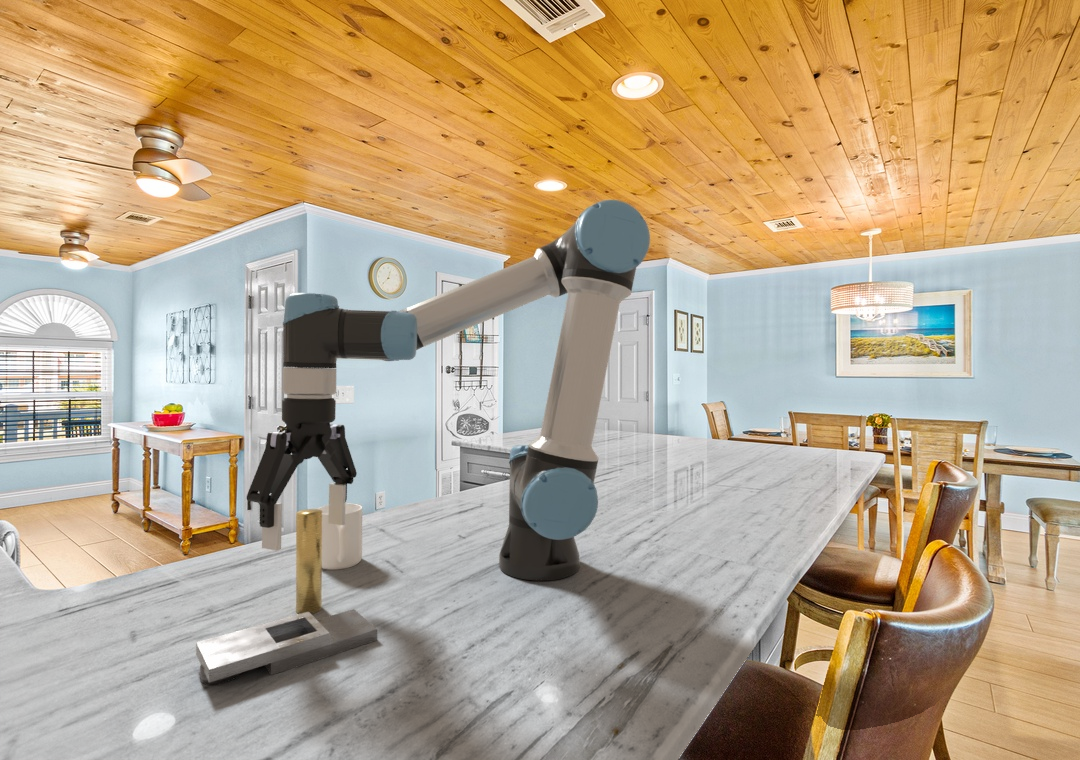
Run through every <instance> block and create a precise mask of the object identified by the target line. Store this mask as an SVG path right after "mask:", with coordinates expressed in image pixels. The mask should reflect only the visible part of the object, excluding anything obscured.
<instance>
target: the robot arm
mask: <svg viewBox="0 0 1080 760" xmlns="http://www.w3.org/2000/svg"><path fill="white" fill-rule="evenodd" d="M650 234H651V233H650V228H649V226H648V223H647V222H646V219H645V218H644V217H643V216H642V214H641V213H640V211H639V210H638V209H636V208H635V207H634V206H633V205H631V204H629V203H628V202H625V201H621V200H618V199H604V200H601V201H598V202H596V203H594V204H592V205H590V206H588V207H587V208H586V209H585V210H583V211H582V212H581V213H580V215H579V216H578V218H577V220H575V222H574V223H573V224H572V225H571V227H569V228H568V229H567V231H565V232H564V233H563V234H561V235H560V236H559V237H557V238H556V239H554V240H553V241H551V242H550V243H547V244H545V245H544V246H543V245H542V246H540V247H538V248H536V250H535V252H534V255H533V256H531V257H528V258H527V259H526V258H525V259H523V260H521V261H520V262H517V263H514V264H512V265H509V266H506V267H505V268H501V269H499V270H497V271H494V272H492V273H489V274H486V275H484V276H481V277H480V278H478V279H475V280H472V281H470V282H467V283H465V284H463V285H460V286H457V287H455V288H453V289H450V290H448V291H445V292H443V293H440V294H438V295H435V296H433V297H431V298H428V299H425V300H423V301H421V302H418V303H416V304H414V305H411V306H407V307H406V308H404V309H401V310H398V311H397V310H390V311H389V310H388V311H387V310H362V309H361V310H360V309H359V310H357V309H356V310H355V309H344V308H340V306H339V302H338V298H337V297H335V296H333V295H331V294H326V293H324V294H323V293H314V292H294V293H291V294H289V295H288V296H287V297H286V299H285V300H284V303H285V304H284V312H283V313H284V317H283V322H282V328H283V334H282V335H283V341H282V342H283V343H282V345H283V346H282V347H283V358H282V359H283V362H282V363H283V364H282V366H283V367H282V393H283V395H286V397H284V398H283V399H281V421H282V422H283V423H285V425H286V428H285V429H284V430H285V431H284V432H280V431H279V432H278V431H269V432H268V433H267V434H266V435H267V436H266V443H265V449H264V451H263V454H262V456H261V459H260V460H259V461H260V462H259V464H258V466H257V469H256V471H255V474H254V476H253V479H252V482H251V484H250V486H249V489H248V492H247V494H246V500H247V501H248V502H252V503H258V505H259V526H260V528H261V549H264V550H265V549H266V550H271V551H280V550H282V525H283V524H282V522H283V521H282V518H283V503H282V502H278V501H279V499H280V497H281V495H282V494H283V492H284V491H285V488H286V487H287V485H288V483H289V482H290V480H291V478H292V477H293V475H294V473H295V471H296V469H297V468H298V466H299V465H301V464H303V462H304V461H305V460H310V459H312V458H317V459H318V460H319V461H320V463H321V465H322V467H323V468H324V469H325V471H326V472H327V474H328V475H329V477H330V478H331V480H332V481H333V482H331V483H329V484H328V505H329V516H328V523H330V524H337V525H344V524H345V503H346V502H347V498H348V496H347V495H348V485H352V484H354V478H356V477H357V473H358V472H357V469H356V466H355V464H354V463H355V462H354V461H353V457H352V453H351V451H350V447H349V445H348V442H347V438H346V427H345V425H344V424H337V423H333V422H335V421H336V403H337V402H336V399H335V397H333V396H334V395H335V394H336V393H337V361H338V360H337V359H339V358H340V359H359V360H360V359H363V360H381V361H383V362H384V361H385V362H395V361H410V360H411V361H412V360H413V359H414V358H415V357H416V355H417V351H418V350H419V349H422V348H424V347H426V346H429V345H431V344H434V343H435V342H438V341H441V340H443V339H446V338H449V337H450V336H453V335H456V334H458V333H460V332H463V331H465V330H467V329H470V328H472V327H474V326H477V325H479V324H481V323H483V322H486V321H488V320H491V319H493V318H496V317H499V316H501V315H503V314H506V313H508V312H510V311H513V310H515V309H517V308H520V307H523V306H524V305H525V306H526V305H528V304H529V303H532V302H534V301H537V300H540V299H543V298H544V297H547V296H551V297H553V298H558V297H561V296H564V295H565V294H567V298H566V303H565V309H564V314H563V319H562V323H561V329H560V333H559V339H558V343H557V344H558V345H557V348H556V355H555V359H554V364H553V368H552V375H551V380H550V383H549V388H548V389H549V390H548V392H547V393H548V394H547V395H548V396H547V399H546V404H545V409H544V415H543V418H542V419H543V421H542V424H541V429H540V434H539V436H538V437H537V438H535V439H534V440H533V441H531V442H530V443H529V444H522V445H521V444H518V445H514V446H512V447H511V449H510V453H509V459H508V465H509V492H508V493H509V496H508V497H509V502H508V503H509V504H508V507H509V508H508V515H509V516H508V528H507V531H506V533H505V537H504V538H503V542H502V545H501V548H500V552H499V555H498V556H499V557H498V558H499V559H498V560H499V563H498V566H499V569H500V571H502V572H503V573H504V574H506V575H507V576H510V577H513V578H516V579H519V580H520V579H521V580H525V581H542V582H543V581H555V580H560V579H564V578H568V577H571V576H572V575H575V574H576V573H577V572H578V571H579V570H580V553H579V550H578V547H577V546H578V545H577V542H576V539H575V537H576V536H578V535H580V534H582V533H583V532H584V531H586V530H587V529H588V528H589V527H590V525H591V523H592V522H593V521H594V519H595V518H596V516H597V515H596V514H597V513H598V507H599V499H598V491H597V488H596V486H595V478H596V474H597V469H598V462H599V457H598V455H597V454H596V451H595V450H594V448H593V446H592V445H593V442H594V441H593V440H594V436H595V435H594V434H595V431H596V425H597V420H598V414H599V411H600V404H601V400H602V394H603V389H604V385H605V379H606V374H607V369H608V364H609V359H610V355H611V349H612V343H613V339H614V334H615V333H614V332H615V329H616V323H617V319H618V313H619V308H620V305H621V303H622V301H624V300H625V299H626V298H629V297H630V296H631V295H632V290H633V286H634V280H635V277H636V275H635V274H636V270H637V267H639V266H640V265H641V264H642V263H643V261H644V259H645V258H646V255H647V254H648V251H649V248H650V244H651V243H650V242H651V236H650Z"/></svg>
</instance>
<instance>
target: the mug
mask: <svg viewBox="0 0 1080 760" xmlns="http://www.w3.org/2000/svg"><path fill="white" fill-rule="evenodd" d="M317 509H319V510H322V569H323V570H328V571H329V570H330V571H331V570H333V571H335V570H336V571H337V570H344V569H348V568H352V567H355V566H356V565H358V564H359V563H360V562H361V560H362V557H363V506H362V505H360V504H356V503H346V502H345V524H344V525H337V524H330V523H328V516H329V504H327V505H323V506H320V507H318V508H317Z"/></svg>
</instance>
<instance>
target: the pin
mask: <svg viewBox="0 0 1080 760" xmlns="http://www.w3.org/2000/svg"><path fill="white" fill-rule="evenodd" d="M295 514H296V515H295V516H296V520H295V521H296V522H295V523H296V525H295V526H296V527H295V529H296V530H295V531H296V532H295V533H296V534H295V535H296V536H295V537H296V544H295V562H296V563H295V565H296V566H295V575H296V576H295V580H296V581H295V612H296V614H297V615H298V614H301V613H305V612H310V613H311V614H312V615H313V614H316V613H317V612H319V611H321V610H322V605H323V604H322V602H323V601H322V600H323V599H322V597H323V595H322V592H323V591H322V578H323V577H322V575H323V574H322V572H323V571H322V569H323V568H322V510H319V509H318V508H310V509H309V508H308V509H301V510H299V511H297V512H296V513H295Z"/></svg>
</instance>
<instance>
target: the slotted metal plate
mask: <svg viewBox="0 0 1080 760" xmlns="http://www.w3.org/2000/svg"><path fill="white" fill-rule="evenodd" d="M376 641H378V629H377V628H376V627H375V626H374V625H373V624H372V623H371V622H370V621H368V619H366V618H365V617H364V616H362V614H360V613H359V612H358V611H357V610H355V608H354V609H350V610H346V611H343V612H339V613H336V614H332V615H329V616H325V617H322V618H319V619H318V618H317V619H316V617H315V616H314V615H313V613H312V614H311V613H310V612H305V613H301V614H298V613H297V614H295V615H291V616H287V617H284V618H281V619H276V620H273V621H269V622H266V623H262V624H258V625H253V626H250V627H248V628H246V627H245V628H244V629H239V630H236V631H231V632H228V633H225V634H222V635H217V636H213V637H211V638H207V639H203V640H199V641H196V642H195V643H196V644H195V645H196V646H195V652H196V653H195V655H196V657H197V659H198V661H199V663H200V667H199V677H200V678H199V680H200V683H202V684H203V685H208V686H215V685H221V684H225V683H228V682H230V681H232V680H234V679H236V678H238V677H239V676H240V675H241V674H242V673H244V672H248V671H251V670H255V669H257V668H259V667H263V666H264V667H265V669H266V670H267V672H268V673H269V675H270V676H273V675H277V674H279V673H282V672H285V671H288V670H292V669H294V668H297V667H300V666H301V667H302V666H304V665H306V664H309V663H313V662H315V661H318V660H321V659H324V658H327V657H331V656H333V655H337V654H339V653H342V652H345V651H349V650H352V649H355V648H357V647H360V646H363V645H367V644H370V643H372V642H376Z"/></svg>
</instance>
